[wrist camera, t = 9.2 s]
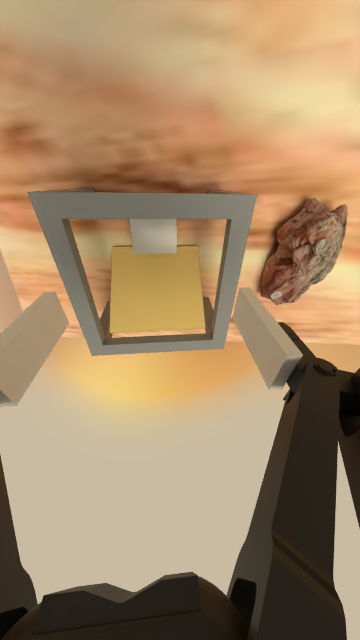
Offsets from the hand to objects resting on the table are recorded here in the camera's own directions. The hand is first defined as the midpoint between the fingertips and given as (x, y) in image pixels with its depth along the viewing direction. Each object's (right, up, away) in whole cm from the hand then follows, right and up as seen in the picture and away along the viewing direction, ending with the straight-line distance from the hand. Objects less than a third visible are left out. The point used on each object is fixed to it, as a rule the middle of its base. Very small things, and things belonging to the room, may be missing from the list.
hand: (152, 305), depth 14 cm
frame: (-2, +9, +18) cm, 21 cm away
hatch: (-2, +4, +15) cm, 16 cm away
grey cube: (-2, +10, +14) cm, 18 cm away
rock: (+22, +12, +20) cm, 32 cm away
